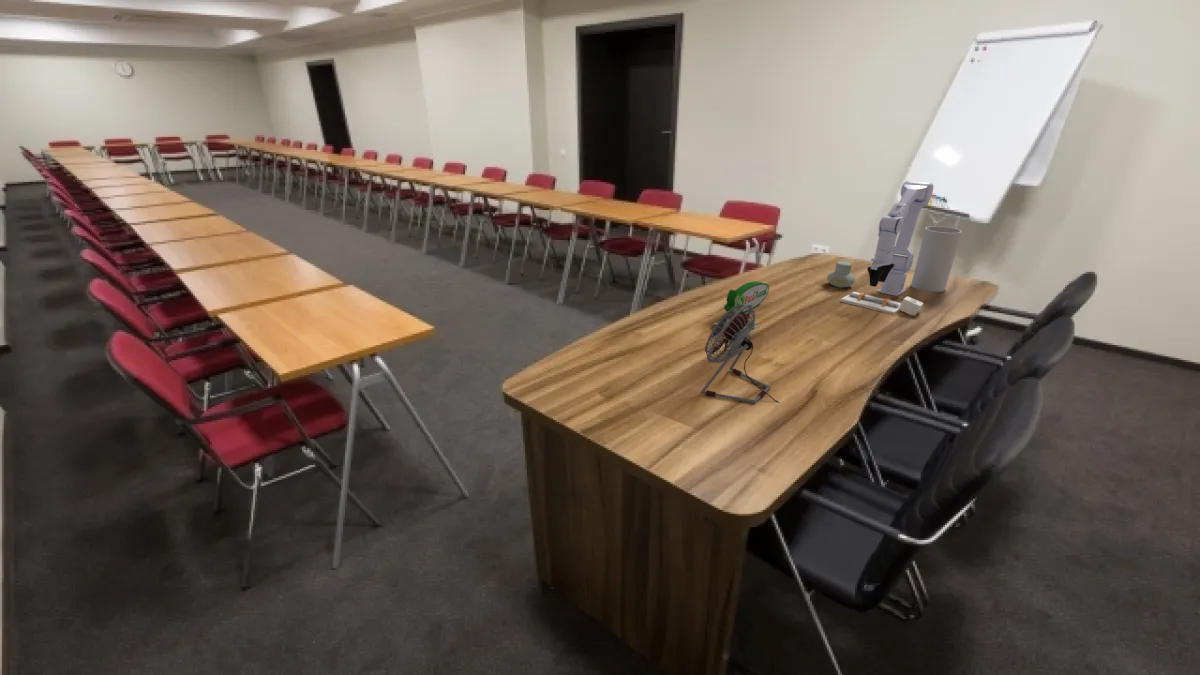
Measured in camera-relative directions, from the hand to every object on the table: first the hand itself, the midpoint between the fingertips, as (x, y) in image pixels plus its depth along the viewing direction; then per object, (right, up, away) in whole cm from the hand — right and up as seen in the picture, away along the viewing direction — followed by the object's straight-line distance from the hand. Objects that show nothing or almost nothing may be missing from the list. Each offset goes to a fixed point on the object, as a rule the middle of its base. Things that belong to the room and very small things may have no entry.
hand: (877, 283), depth 199 cm
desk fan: (-65, -37, -59) cm, 95 cm away
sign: (-50, -10, 0) cm, 51 cm away
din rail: (0, -7, +3) cm, 7 cm away
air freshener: (-3, +2, +24) cm, 25 cm away
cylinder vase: (+32, 0, +20) cm, 38 cm away
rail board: (0, -8, +3) cm, 8 cm away
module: (+9, -11, -5) cm, 15 cm away
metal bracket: (-51, -17, -20) cm, 57 cm away
